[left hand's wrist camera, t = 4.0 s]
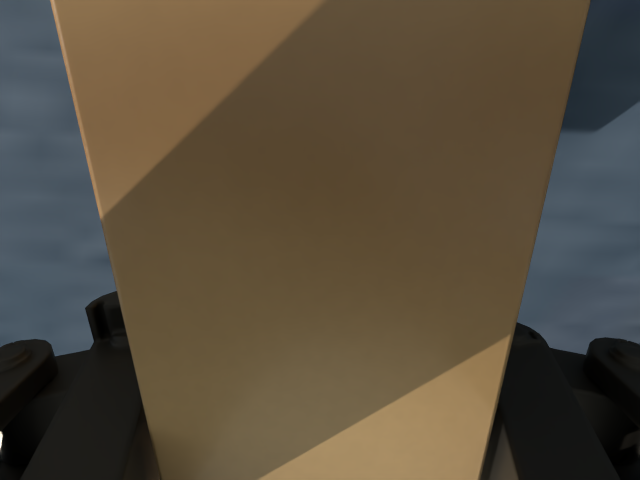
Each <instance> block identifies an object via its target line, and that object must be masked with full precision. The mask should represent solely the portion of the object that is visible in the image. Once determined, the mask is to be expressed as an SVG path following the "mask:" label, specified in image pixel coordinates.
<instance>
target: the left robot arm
mask: <svg viewBox="0 0 640 480" xmlns="http://www.w3.org/2000/svg"><path fill="white" fill-rule="evenodd" d="M85 309H86V313H87V317H88V321H89V324H90V328H91V332H92V335H93V339H94V343H93V345H92V347H91V349H90V350H86V351H81V352H76V353H71V354H66V355H60V356H55V355H54V352H53V349H52V346H51V344H50V343H48V342H47V341H46V340H38V339H32V340H21V341H16V342H14V343H13V342H12V343H9V344H6V345H3V346H2V347H0V480H160V476H159V472H158V468H157V463H156V459H155V455H154V450H153V446H152V441H151V437H150V433H149V428H148V424H147V420H146V415H145V411H144V407H143V402H142V398H141V394H140V389H139V385H138V380H137V376H136V372H135V367H134V363H133V359H132V354H131V350H130V346H129V341H128V337H127V332H126V328H125V324H124V319H123V315H122V311H121V306H120V302H119V298H118V293H117V291H115V292H112V293H109V294H106V295H103V296H101V297H99V298H98V299H96V300H94V301H92V302H91V303H90V304H89V305H88V306H87V307H86V308H85ZM480 480H640V345H639V344H637V343H634V342H631V341H627V340H623V339H615V338H606V337H605V338H598V339H594V340H593V341H592V342H590V344H589V347H588V350H587V353H586V355H583V354H578V353H573V352H568V351H562V350H557V349H553V348H549V346H548V344H547V342H546V341H545V340H544V338H543V337H542V336H541V335H540V334H539V333H537V332H536V331H534V330H533V329H531V328H530V327H527V326H525V325H522V324H520V323H517V322H516V327H515V331H514V335H513V340H512V344H511V348H510V353H509V357H508V362H507V366H506V370H505V375H504V379H503V383H502V388H501V392H500V396H499V401H498V405H497V409H496V414H495V418H494V422H493V427H492V431H491V435H490V440H489V444H488V448H487V453H486V457H485V461H484V466H483V470H482V474H481V479H480Z"/></svg>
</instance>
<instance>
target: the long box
mask: <svg viewBox="0 0 640 480" xmlns="http://www.w3.org/2000/svg"><path fill="white" fill-rule="evenodd" d="M50 1H51V5H52V10H53V14H54V18H55V23H56V27H57V31H58V36H59V40H60V44H61V49H62V53H63V58H64V62H65V66H66V71H67V75H68V79H69V84H70V88H71V92H72V97H73V101H74V106H75V110H76V114H77V119H78V123H79V127H80V132H81V136H82V140H83V145H84V149H85V154H86V158H87V162H88V167H89V171H90V175H91V180H92V184H93V188H94V193H95V197H96V202H97V206H98V210H99V215H100V219H101V223H102V228H103V232H104V236H105V241H106V245H107V250H108V254H109V258H110V263H111V267H112V271H113V276H114V280H115V284H116V289H117V293H118V298H119V302H120V306H121V311H122V315H123V319H124V324H125V328H126V332H127V337H128V341H129V346H130V350H131V354H132V359H133V363H134V367H135V372H136V376H137V380H138V385H139V389H140V394H141V398H142V402H143V407H144V411H145V415H146V420H147V424H148V428H149V433H150V437H151V441H152V446H153V450H154V455H155V459H156V463H157V468H158V472H159V476H160V480H480V479H481V474H482V470H483V466H484V461H485V457H486V453H487V448H488V444H489V440H490V435H491V431H492V427H493V422H494V418H495V414H496V409H497V405H498V401H499V396H500V392H501V388H502V383H503V379H504V375H505V370H506V366H507V362H508V357H509V353H510V348H511V344H512V340H513V335H514V331H515V327H516V322H517V318H518V314H519V309H520V305H521V301H522V296H523V292H524V288H525V283H526V279H527V275H528V270H529V266H530V262H531V257H532V253H533V249H534V244H535V240H536V236H537V231H538V227H539V223H540V218H541V214H542V209H543V205H544V201H545V196H546V192H547V188H548V183H549V179H550V175H551V170H552V166H553V162H554V157H555V153H556V149H557V144H558V140H559V136H560V131H561V127H562V123H563V118H564V114H565V110H566V105H567V101H568V97H569V92H570V88H571V83H572V79H573V75H574V70H575V66H576V62H577V57H578V53H579V49H580V44H581V40H582V36H583V31H584V27H585V23H586V18H587V14H588V10H589V5H590V1H591V0H50Z"/></svg>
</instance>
